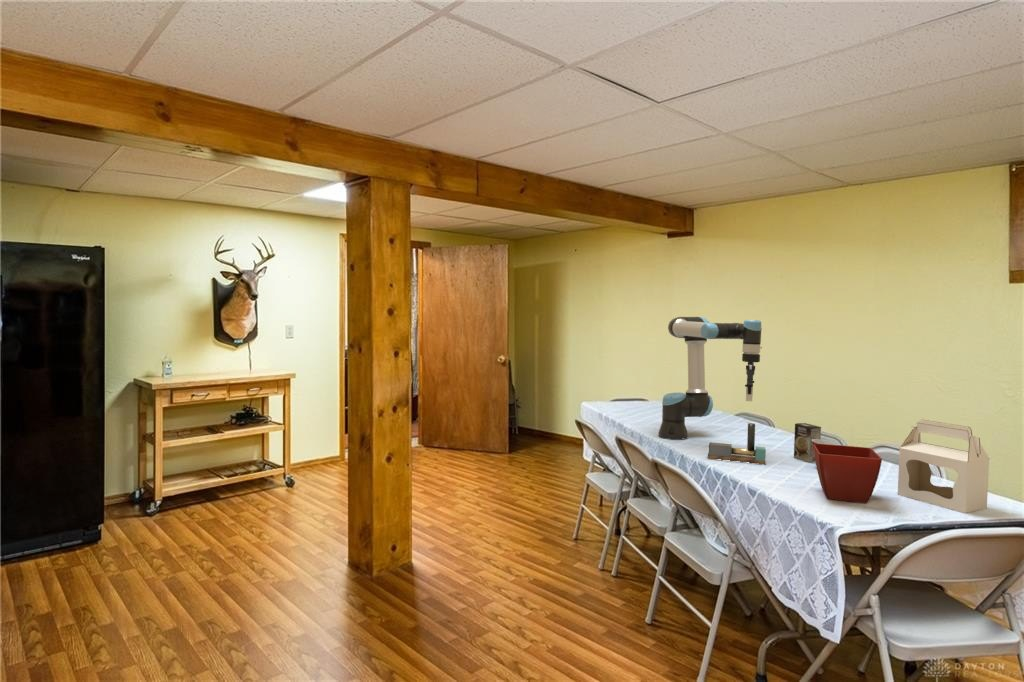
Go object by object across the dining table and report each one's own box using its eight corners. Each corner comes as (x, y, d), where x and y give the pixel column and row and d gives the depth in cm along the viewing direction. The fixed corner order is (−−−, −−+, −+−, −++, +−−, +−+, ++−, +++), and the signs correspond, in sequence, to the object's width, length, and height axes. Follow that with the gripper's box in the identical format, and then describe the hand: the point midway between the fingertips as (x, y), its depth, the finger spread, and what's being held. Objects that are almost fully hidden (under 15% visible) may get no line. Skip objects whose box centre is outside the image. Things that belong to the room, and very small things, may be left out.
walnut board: (707, 458, 255) (707, 455, 255) (708, 455, 262) (708, 452, 262) (765, 464, 246) (765, 461, 246) (764, 461, 253) (764, 457, 253)
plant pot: (811, 485, 216) (812, 442, 215) (869, 492, 209) (871, 447, 208) (817, 500, 198) (818, 453, 198) (880, 508, 191) (882, 459, 190)
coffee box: (792, 457, 259) (794, 423, 258) (803, 457, 261) (805, 422, 260) (808, 462, 250) (810, 427, 250) (820, 461, 252) (821, 426, 252)
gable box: (896, 494, 207) (899, 418, 206) (917, 490, 212) (921, 416, 211) (966, 513, 187) (970, 430, 185) (988, 508, 192) (992, 427, 191)
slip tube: (728, 454, 254) (729, 422, 253) (729, 453, 256) (730, 421, 256) (762, 457, 248) (763, 425, 248) (762, 456, 251) (763, 424, 250)
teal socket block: (755, 459, 249) (755, 448, 248) (755, 457, 253) (755, 446, 253) (765, 460, 247) (765, 449, 247) (764, 458, 252) (765, 447, 251)
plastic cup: (844, 472, 235) (845, 444, 235) (818, 472, 235) (819, 443, 235) (830, 465, 246) (831, 438, 245) (805, 465, 246) (806, 438, 246)
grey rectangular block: (708, 455, 256) (709, 444, 256) (709, 452, 261) (709, 442, 260) (731, 457, 252) (731, 446, 252) (731, 455, 257) (731, 444, 257)
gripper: (760, 355, 246) (758, 403, 247) (759, 351, 269) (757, 395, 270) (741, 354, 249) (739, 402, 250) (743, 350, 272) (741, 394, 273)
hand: (749, 399), depth 260 cm, fingers open, 13 cm apart
